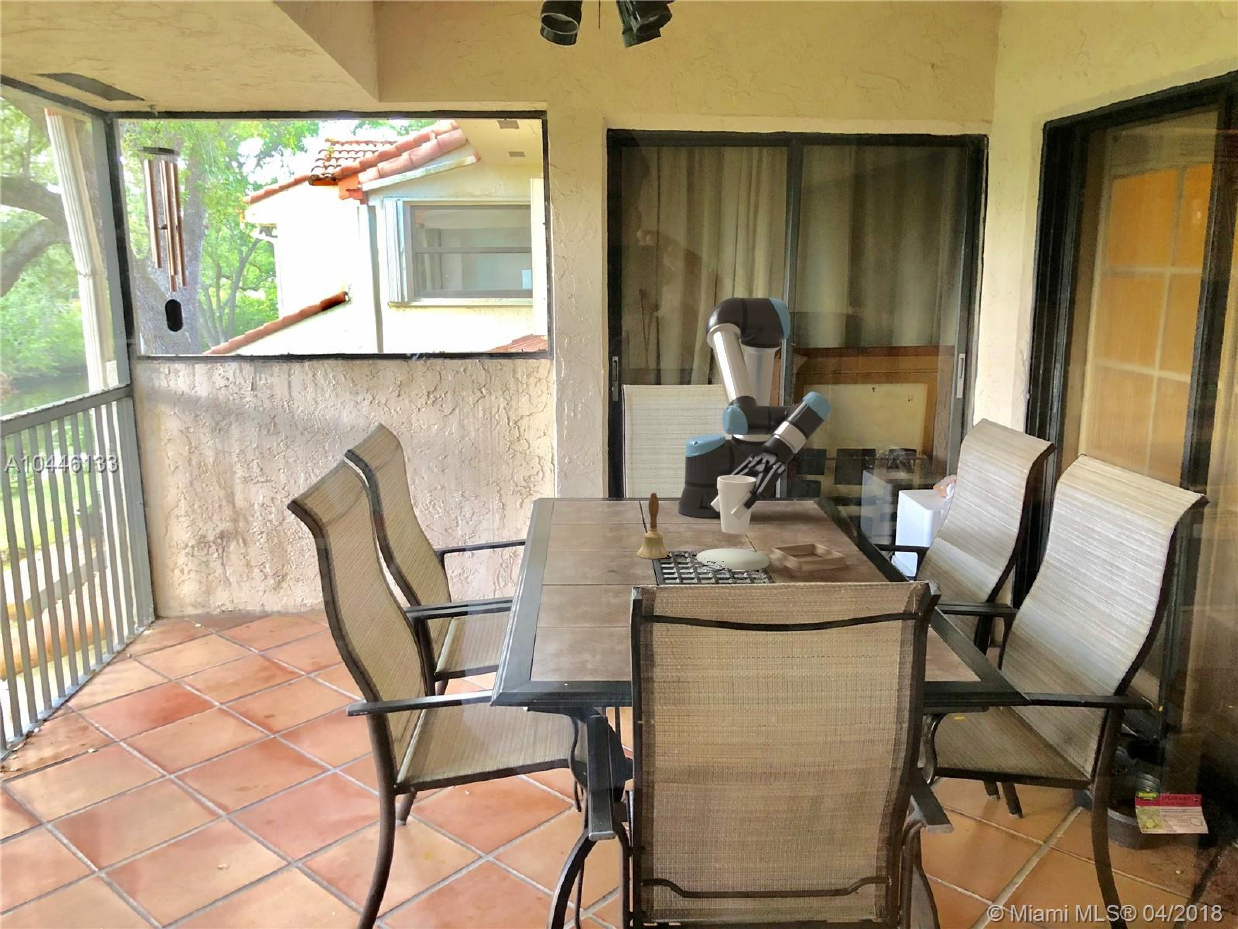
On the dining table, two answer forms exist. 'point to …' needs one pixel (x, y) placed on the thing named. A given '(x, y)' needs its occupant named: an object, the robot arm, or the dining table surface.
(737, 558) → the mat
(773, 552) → the cup socket
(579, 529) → the dining table surface
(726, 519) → the foam cup
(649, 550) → the hand bell
